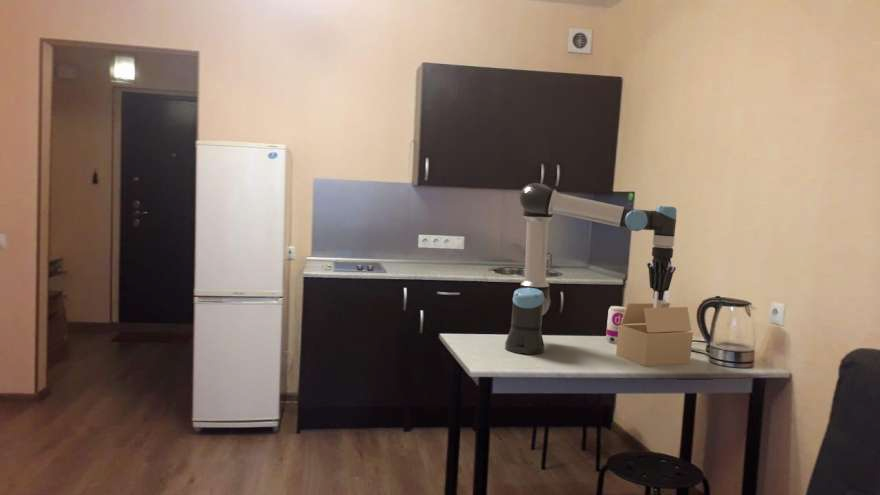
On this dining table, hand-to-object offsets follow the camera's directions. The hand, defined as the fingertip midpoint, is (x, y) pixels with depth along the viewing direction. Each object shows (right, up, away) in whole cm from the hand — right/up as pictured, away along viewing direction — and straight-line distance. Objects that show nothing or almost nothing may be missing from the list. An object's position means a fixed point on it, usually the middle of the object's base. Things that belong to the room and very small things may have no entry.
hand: (657, 308), depth 244 cm
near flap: (+2, -4, -5) cm, 7 cm away
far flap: (-2, -3, +6) cm, 7 cm away
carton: (-1, -20, +2) cm, 20 cm away
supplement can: (-8, -17, +28) cm, 34 cm away
